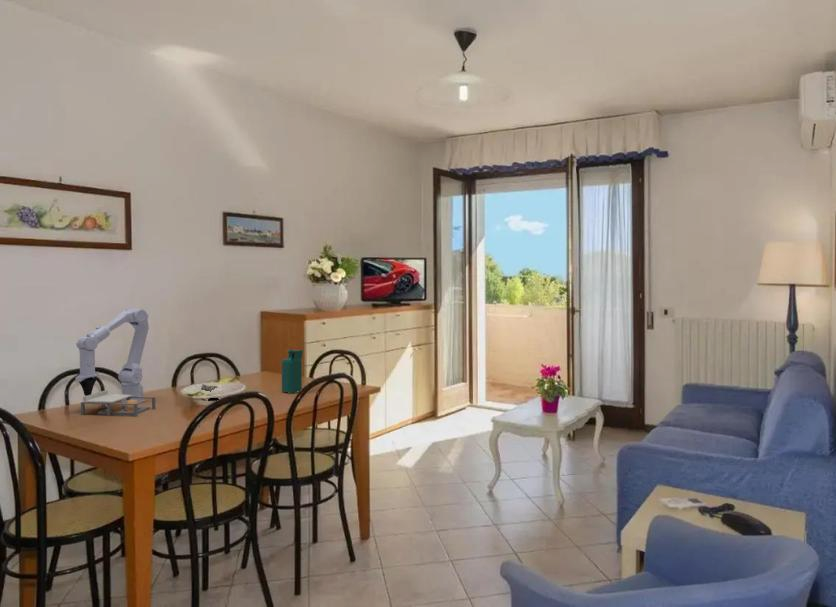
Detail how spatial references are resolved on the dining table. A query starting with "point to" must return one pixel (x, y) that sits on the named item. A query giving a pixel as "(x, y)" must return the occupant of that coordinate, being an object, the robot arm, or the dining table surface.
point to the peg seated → (116, 406)
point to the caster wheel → (208, 387)
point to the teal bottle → (292, 371)
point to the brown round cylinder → (131, 407)
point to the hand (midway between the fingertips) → (87, 395)
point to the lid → (104, 397)
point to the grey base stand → (123, 411)
